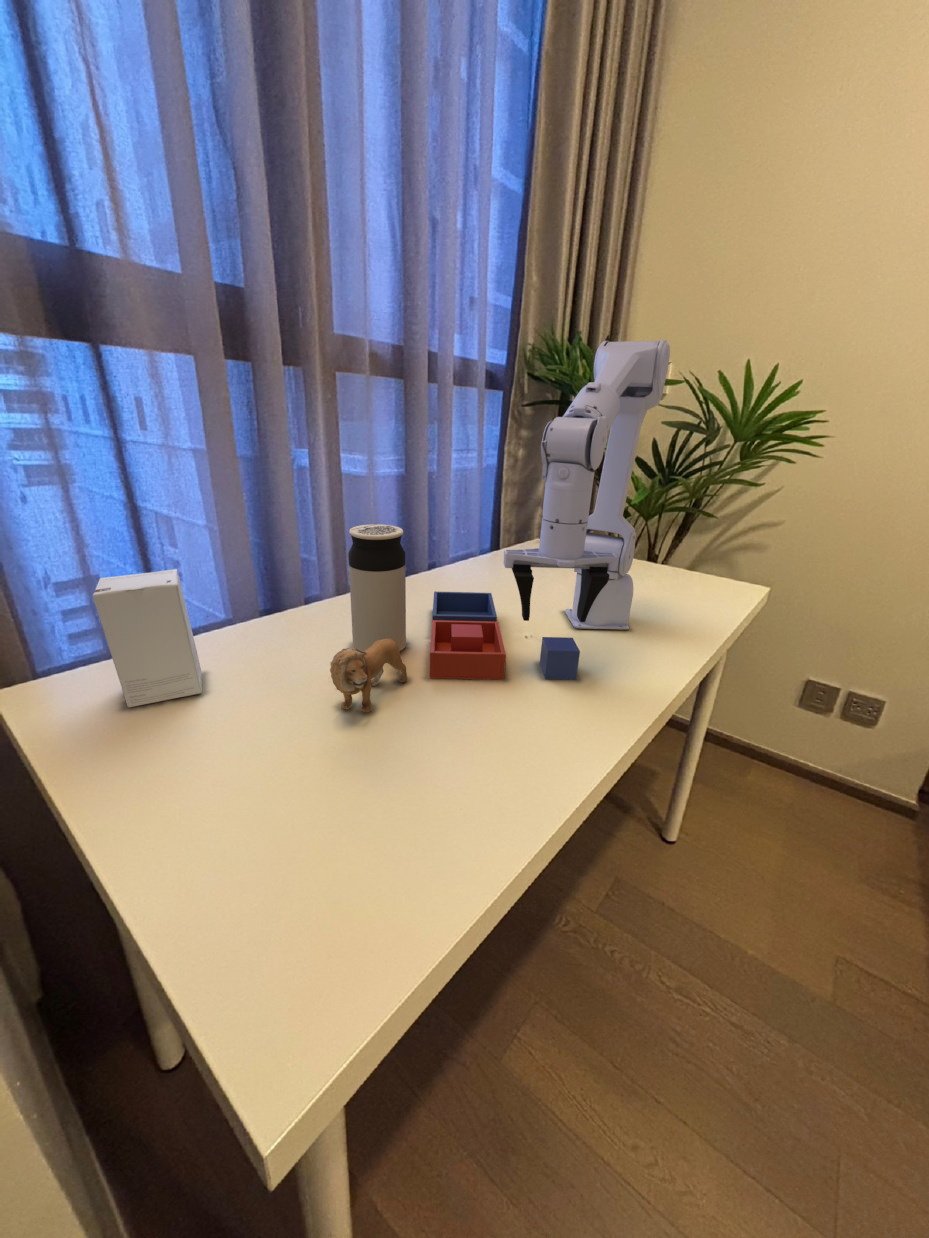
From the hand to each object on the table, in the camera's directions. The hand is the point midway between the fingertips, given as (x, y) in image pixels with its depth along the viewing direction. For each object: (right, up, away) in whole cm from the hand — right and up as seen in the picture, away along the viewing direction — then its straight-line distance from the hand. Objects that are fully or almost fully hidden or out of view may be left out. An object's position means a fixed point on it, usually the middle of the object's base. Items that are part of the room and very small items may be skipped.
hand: (553, 618), depth 69 cm
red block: (-12, -6, +5) cm, 14 cm away
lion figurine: (-24, -10, -6) cm, 26 cm away
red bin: (-12, -6, +5) cm, 14 cm away
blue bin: (-12, -1, +17) cm, 21 cm away
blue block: (+1, -8, +3) cm, 8 cm away
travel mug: (-25, -4, +8) cm, 27 cm away
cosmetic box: (-50, -9, -6) cm, 51 cm away
